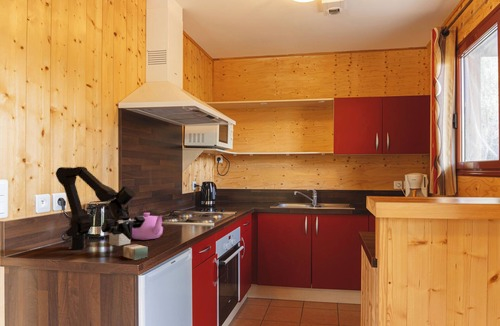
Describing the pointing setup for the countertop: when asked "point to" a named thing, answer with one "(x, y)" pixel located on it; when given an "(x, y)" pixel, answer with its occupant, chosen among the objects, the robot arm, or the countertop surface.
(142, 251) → the birch block
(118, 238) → the supplement box
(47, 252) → the countertop surface
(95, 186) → the robot arm
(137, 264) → the countertop surface
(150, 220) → the teapot
